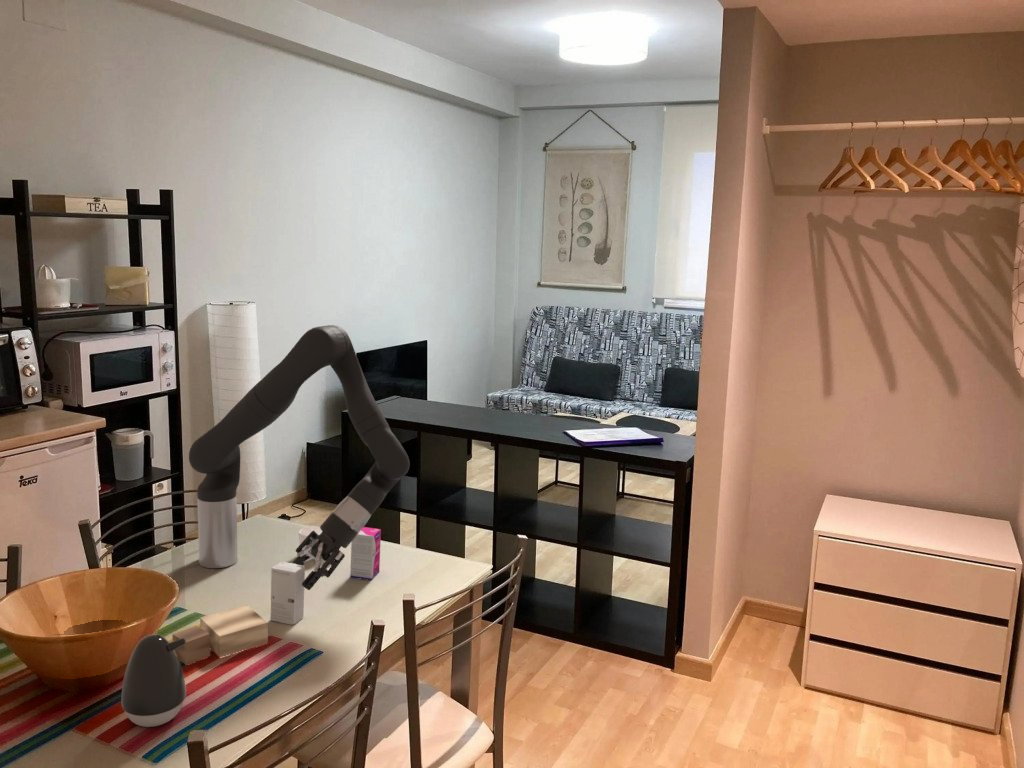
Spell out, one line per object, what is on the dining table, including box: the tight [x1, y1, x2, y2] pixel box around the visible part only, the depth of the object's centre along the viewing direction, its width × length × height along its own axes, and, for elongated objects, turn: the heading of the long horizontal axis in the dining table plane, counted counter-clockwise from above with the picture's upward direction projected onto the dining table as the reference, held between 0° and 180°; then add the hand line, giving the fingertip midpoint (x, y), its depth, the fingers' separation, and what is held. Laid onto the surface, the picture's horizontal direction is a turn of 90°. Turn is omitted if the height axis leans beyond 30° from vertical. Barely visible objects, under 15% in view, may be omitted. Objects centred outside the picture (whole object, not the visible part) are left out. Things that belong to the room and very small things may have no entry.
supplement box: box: [349, 526, 382, 581], centre depth 206 cm, size 6×6×12 cm
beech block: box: [199, 604, 269, 658], centre depth 171 cm, size 10×10×5 cm
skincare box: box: [269, 561, 306, 626], centre depth 181 cm, size 6×4×12 cm
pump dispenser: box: [120, 633, 187, 728], centre depth 142 cm, size 10×10×15 cm
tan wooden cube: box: [171, 625, 211, 665], centre depth 164 cm, size 5×5×5 cm
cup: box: [298, 525, 322, 556], centre depth 217 cm, size 8×10×7 cm
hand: (297, 580), depth 182 cm, fingers open, 8 cm apart
